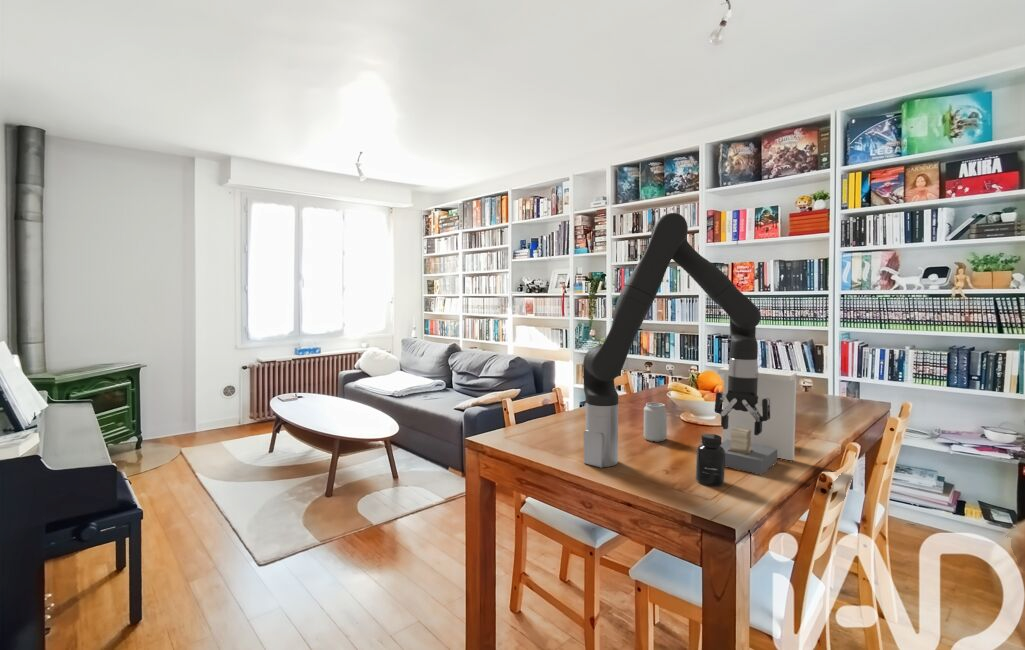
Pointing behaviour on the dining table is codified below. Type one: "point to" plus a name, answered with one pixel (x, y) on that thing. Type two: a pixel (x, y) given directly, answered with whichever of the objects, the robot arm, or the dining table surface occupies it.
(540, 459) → the dining table surface
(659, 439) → the can
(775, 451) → the socket
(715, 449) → the supplement bottle
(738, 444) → the peg
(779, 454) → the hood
